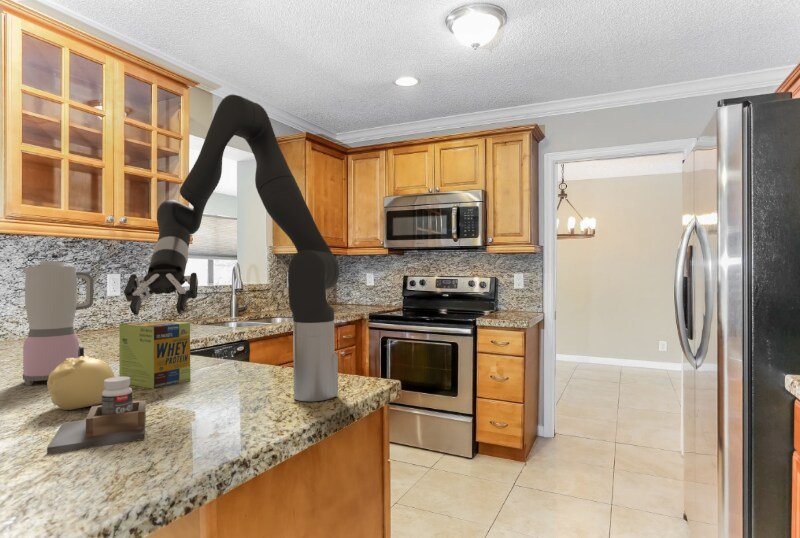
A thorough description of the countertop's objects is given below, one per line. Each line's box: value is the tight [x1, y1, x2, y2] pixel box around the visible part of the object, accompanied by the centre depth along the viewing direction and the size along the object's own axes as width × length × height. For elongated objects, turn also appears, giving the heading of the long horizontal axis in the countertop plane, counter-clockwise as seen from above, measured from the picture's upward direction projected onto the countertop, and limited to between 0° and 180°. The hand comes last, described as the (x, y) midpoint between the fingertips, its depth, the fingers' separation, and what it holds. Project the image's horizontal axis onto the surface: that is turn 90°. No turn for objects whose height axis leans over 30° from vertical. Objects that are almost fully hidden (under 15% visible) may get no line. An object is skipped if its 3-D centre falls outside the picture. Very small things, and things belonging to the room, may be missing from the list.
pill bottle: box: [101, 376, 133, 416], centre depth 84 cm, size 5×5×8 cm
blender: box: [21, 260, 95, 386], centre depth 127 cm, size 16×12×32 cm
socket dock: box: [46, 399, 147, 455], centre depth 82 cm, size 13×14×4 cm
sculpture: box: [46, 355, 115, 411], centre depth 100 cm, size 12×12×11 cm
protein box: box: [118, 320, 191, 390], centre depth 123 cm, size 10×15×16 cm
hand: (157, 311), depth 99 cm, fingers open, 8 cm apart
